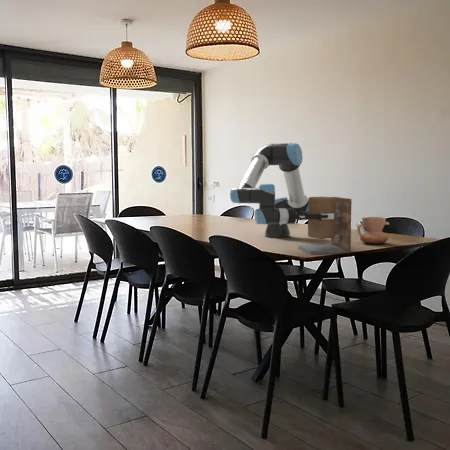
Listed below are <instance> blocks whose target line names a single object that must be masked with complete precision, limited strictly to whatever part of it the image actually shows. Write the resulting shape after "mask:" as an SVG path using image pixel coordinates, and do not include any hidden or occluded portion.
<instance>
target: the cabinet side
mask: <svg viewBox="0 0 450 450" xmlns="http://www.w3.org/2000/svg"><path fill="white" fill-rule="evenodd" d="M333 197H334V198H335V199H336V211H335V237H334V238H330V245H331V244H332V245H335V246H337V247H340V248H343V249H346V253H345V254H351V252H352V251H351V249H352V247H351V245H352V244H351V243H352V198H347V197H341V196H340V197H339V196H333Z"/></svg>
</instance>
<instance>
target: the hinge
mask: <svg viewBox="0 0 450 450" xmlns="http://www.w3.org/2000/svg"><path fill="white" fill-rule="evenodd" d="M361 223H362V224H363V221H362V220H360V221H357V222H356V223H355V225H356V226H355V227H356V228H357V227H358V225H359V224H361ZM360 232H361V234H363V233H365V232H366V229H365V227H363V226H361V227H360Z"/></svg>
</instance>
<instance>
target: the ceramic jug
mask: <svg viewBox="0 0 450 450" xmlns="http://www.w3.org/2000/svg"><path fill="white" fill-rule="evenodd" d="M361 219H362V220H361V221H363V224H362V223H361V224H359V225H358V227H357V226H356V228H357V229H356V231H357V233H358V235H359V240H360V241H361V242H363V243H365V244H368V245H382V244H384V243H386V242H388V239H389V237H388V235H387V234H386V233H385V232H384V231H383V230H384V227H385V226H386V225H387V226H389V225H390V223H389V222H388V221H386V220H387V218H386V217H384V216H368V217H367V216H366V217H362V218H361ZM361 226H363V227H365V229H366V232H365V233H363V234H361V232H360V227H361Z"/></svg>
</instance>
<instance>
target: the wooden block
mask: <svg viewBox="0 0 450 450" xmlns="http://www.w3.org/2000/svg"><path fill="white" fill-rule="evenodd" d="M334 197H335V196H309V197H307V198H308V214H326V213H334V219H321V221H320V220H313V219H308V220H307V236H308V237H309V238H313V239H317V240H318V239H320V240H323V239H331V238H334V237H335V211H336V199H335V198H334Z"/></svg>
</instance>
